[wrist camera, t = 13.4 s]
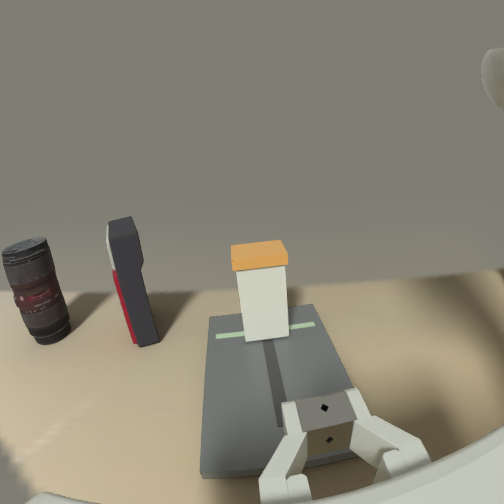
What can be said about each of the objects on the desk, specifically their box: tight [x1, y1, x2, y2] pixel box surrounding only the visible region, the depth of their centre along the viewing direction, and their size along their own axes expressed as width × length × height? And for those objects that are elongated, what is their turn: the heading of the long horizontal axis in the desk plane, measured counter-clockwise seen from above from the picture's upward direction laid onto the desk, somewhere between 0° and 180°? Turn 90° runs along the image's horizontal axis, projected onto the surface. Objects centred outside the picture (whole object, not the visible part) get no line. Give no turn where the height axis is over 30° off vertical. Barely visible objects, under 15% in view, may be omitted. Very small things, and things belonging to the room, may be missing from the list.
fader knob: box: [231, 240, 289, 342], centre depth 35 cm, size 6×5×10 cm
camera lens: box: [2, 237, 71, 345], centre depth 39 cm, size 8×8×15 cm
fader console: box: [200, 304, 359, 479], centre depth 31 cm, size 14×24×1 cm, turn 4°
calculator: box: [106, 216, 160, 347], centre depth 40 cm, size 11×4×15 cm, turn 25°
